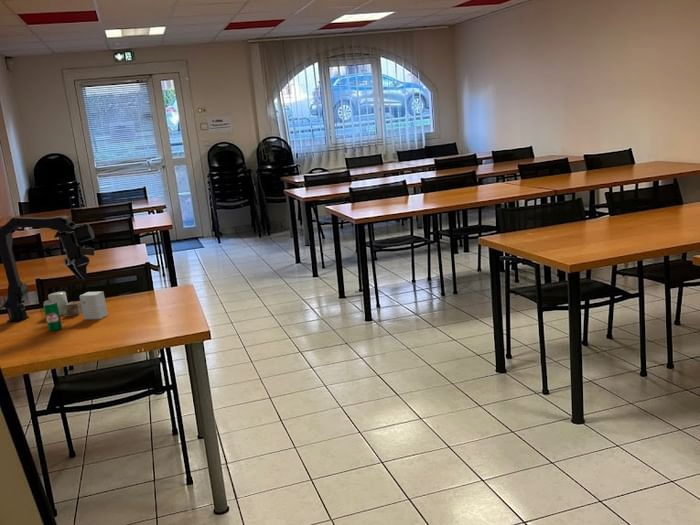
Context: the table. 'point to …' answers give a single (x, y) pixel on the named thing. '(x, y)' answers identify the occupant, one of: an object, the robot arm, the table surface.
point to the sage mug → (60, 301)
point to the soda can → (52, 315)
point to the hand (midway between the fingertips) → (82, 279)
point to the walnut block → (74, 308)
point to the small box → (93, 305)
